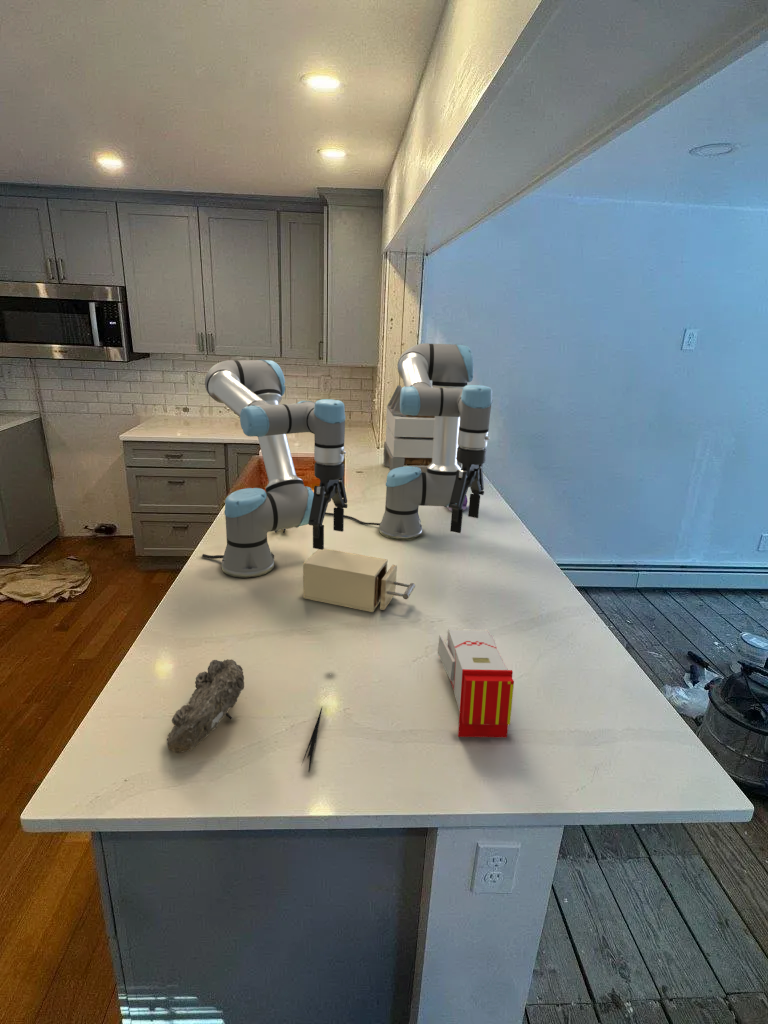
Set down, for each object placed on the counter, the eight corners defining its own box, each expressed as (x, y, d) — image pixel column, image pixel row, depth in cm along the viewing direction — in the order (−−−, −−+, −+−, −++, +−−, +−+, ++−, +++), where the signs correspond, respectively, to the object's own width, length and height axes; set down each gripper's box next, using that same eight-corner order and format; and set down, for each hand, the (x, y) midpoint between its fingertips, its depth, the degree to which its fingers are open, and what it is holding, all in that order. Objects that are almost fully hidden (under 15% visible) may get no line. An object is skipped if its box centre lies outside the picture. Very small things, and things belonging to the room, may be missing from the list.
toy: (488, 613, 130) (523, 677, 101) (484, 667, 133) (517, 744, 104) (435, 612, 130) (455, 676, 101) (432, 666, 133) (451, 743, 103)
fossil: (192, 660, 117) (244, 628, 112) (224, 691, 120) (276, 661, 115) (142, 746, 98) (202, 712, 93) (182, 779, 101) (242, 748, 96)
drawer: (415, 597, 154) (417, 568, 151) (405, 614, 146) (407, 584, 143) (332, 581, 161) (332, 553, 158) (318, 596, 152) (318, 567, 149)
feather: (331, 679, 122) (336, 673, 122) (307, 777, 96) (313, 769, 95) (324, 675, 122) (329, 669, 121) (298, 772, 95) (304, 764, 95)
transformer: (382, 463, 289) (386, 382, 275) (445, 464, 293) (451, 384, 279) (390, 482, 257) (394, 392, 243) (460, 483, 261) (468, 394, 247)
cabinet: (385, 593, 158) (387, 559, 154) (372, 612, 148) (374, 575, 144) (319, 581, 163) (320, 547, 160) (303, 598, 153) (303, 562, 150)
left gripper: (323, 475, 132) (322, 559, 139) (360, 453, 154) (358, 525, 161) (293, 472, 134) (295, 554, 141) (334, 450, 156) (333, 522, 163)
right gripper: (469, 458, 134) (461, 541, 141) (500, 440, 155) (492, 513, 162) (439, 454, 137) (433, 535, 144) (474, 437, 158) (467, 508, 165)
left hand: (328, 539), depth 151 cm, fingers open, 13 cm apart
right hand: (464, 524), depth 153 cm, fingers open, 13 cm apart
